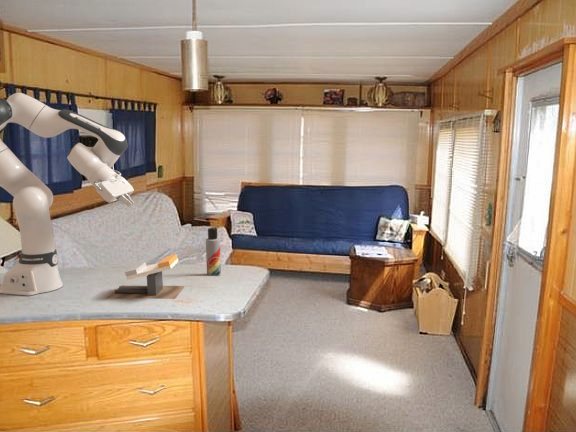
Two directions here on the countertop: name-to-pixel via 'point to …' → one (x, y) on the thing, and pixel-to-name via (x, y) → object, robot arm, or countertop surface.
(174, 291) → the mounting board
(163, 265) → the block
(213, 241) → the lotion bottle
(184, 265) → the countertop surface
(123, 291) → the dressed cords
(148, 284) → the block
